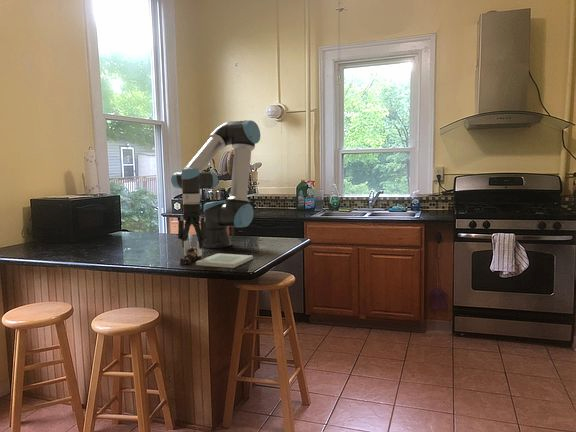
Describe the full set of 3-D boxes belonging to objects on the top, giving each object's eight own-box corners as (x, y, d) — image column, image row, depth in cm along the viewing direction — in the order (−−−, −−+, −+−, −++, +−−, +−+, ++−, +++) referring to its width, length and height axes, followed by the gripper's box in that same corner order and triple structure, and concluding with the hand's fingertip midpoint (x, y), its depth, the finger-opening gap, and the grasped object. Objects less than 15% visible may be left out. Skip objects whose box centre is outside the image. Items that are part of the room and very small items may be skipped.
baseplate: (217, 256, 209) (217, 253, 209) (253, 258, 202) (252, 255, 202) (196, 265, 192) (195, 261, 192) (233, 267, 186) (233, 264, 186)
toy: (178, 252, 193) (194, 242, 207) (176, 266, 195) (192, 256, 209) (191, 256, 192) (207, 246, 206) (189, 270, 193) (205, 259, 207)
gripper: (168, 203, 199) (170, 255, 201) (205, 204, 192) (207, 258, 194) (178, 202, 206) (180, 252, 208) (214, 203, 199) (216, 255, 201)
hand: (193, 255), depth 201 cm, fingers closed on toy, 6 cm apart
